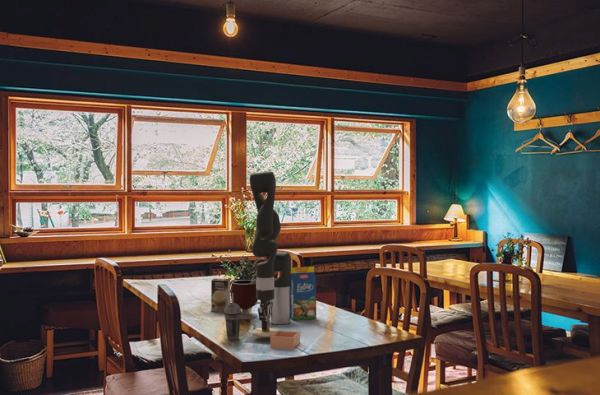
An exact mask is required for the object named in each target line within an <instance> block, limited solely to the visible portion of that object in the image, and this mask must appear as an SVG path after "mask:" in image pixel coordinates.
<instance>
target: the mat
mask: <svg viewBox="0 0 600 395" xmlns="http://www.w3.org/2000/svg"><path fill="white" fill-rule="evenodd" d="M243 343H245V344H247V343H248V344H259V345H261V344H263V345H265V344H266V345H270V337H257V336H254V335H253V334H252V335H251V336H249V338H248V337H247V339H245V340H244V341H243Z"/></svg>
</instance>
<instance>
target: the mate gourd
mask: <svg viewBox="0 0 600 395" xmlns="http://www.w3.org/2000/svg"><path fill="white" fill-rule="evenodd" d="M256 280H257V277H256V278H254V279H239V280H232V281H231V284H230V301H232V293H233V303H236V304H238V305H239V306H240V308H241V312H242V313H241V318H240V320H251V319H256V318H257V317H258V313H255V312H249V309H251V308H253V307H255V306H256V305H257V303H258V302H259V300H258V299H257V298H256Z"/></svg>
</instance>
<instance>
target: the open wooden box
mask: <svg viewBox="0 0 600 395" xmlns="http://www.w3.org/2000/svg"><path fill="white" fill-rule="evenodd" d="M299 344H301V331H291V330H289V331H288V330H279V331H276V332H275V333H274V334H273V335H271V336H270V344H269V345H270V346H269V347H270V349H271V348H272V349H273V348H274V349H285V350H286V349H288V350H295V349H296V348H297V347H298V346H299Z"/></svg>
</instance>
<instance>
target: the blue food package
mask: <svg viewBox="0 0 600 395" xmlns="http://www.w3.org/2000/svg"><path fill="white" fill-rule="evenodd" d="M312 319H317V278H316V274H315V266H302V267H301V266H300V267H291V280H290V320H291V321H302V320H305V321H306V320H312Z"/></svg>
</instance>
